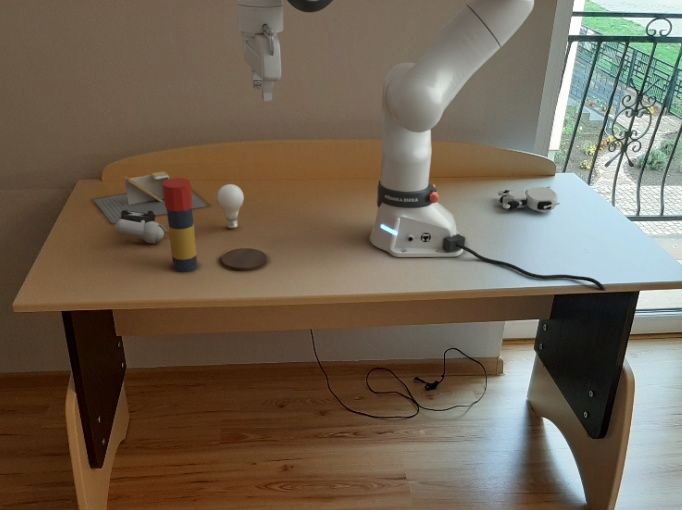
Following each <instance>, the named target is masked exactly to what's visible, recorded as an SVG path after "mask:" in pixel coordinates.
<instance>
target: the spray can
mask: <svg viewBox="0 0 682 510" xmlns="http://www.w3.org/2000/svg"><path fill="white" fill-rule="evenodd" d="M166 216H167V227H168V231H169V233H168V234H169V235H168V237H169V244H170V252H171V253H170V254H171V259H172V267H173V268H172V269H173V270H174V271H176V272H179V273H189V272H192V271H195V270H196V269H197V268H198V257H197V246H196V233H195V223H194V215H193V209H192V207H191V209H188V210H185V211H170V210H167V214H166Z"/></svg>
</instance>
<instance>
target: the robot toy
mask: <svg viewBox="0 0 682 510" xmlns="http://www.w3.org/2000/svg"><path fill="white" fill-rule="evenodd" d="M497 195H498V196H500V197H499V202H500V203H501V204H502V208H504V209H506V210H517V209H522V208H524V207H525V206H527V207H528V209H531V210H533V211H537V212H539V213H546V212H548V211H552V210H555V208H556V207H557V206H559V205H560V204H561V202H558V201H559V200H558V199H559V196H558V194H557V193H556V192H555V191H554V190H553V189H552V186H550V185H549V186H536V187H535V186H534V187H533V186H532V187H529V188H527V189H526V190H525V191H523V190H509V189H504V191H503V190H499V191H498V192H497Z"/></svg>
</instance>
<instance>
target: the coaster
mask: <svg viewBox="0 0 682 510" xmlns="http://www.w3.org/2000/svg"><path fill="white" fill-rule="evenodd" d="M267 262H268V258H267V254H266V253H265V252H264V251H262V250H260V249H256V248H250V247H243V248H242V247H240V248H235V249H230V250H228V251H226V252H225V253H224V254H222V256H221V263H222V265H223V267H224V268H227V269H228V270H232V271H237V272H250V271H254V270H257V269H260V268H262V267H264V266H265V265H266V264H267Z"/></svg>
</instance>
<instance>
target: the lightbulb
mask: <svg viewBox="0 0 682 510" xmlns="http://www.w3.org/2000/svg"><path fill="white" fill-rule="evenodd" d="M216 201H217V204H218V206H219V207H220V208H221V209H222V211H223V213H224V216H225V219H226V227H227V228H228V229H231V230H233V229H236V228H237V227H238V226H239V225H238V224H239V223H238V217H239V212H240V209H241V208H242V206H243V204H244V201H245V195H244V192H243V190H242V189H241V188H240V187H239V186H238V185H236V184H233V183H227V184H224V185H222V186H221V187H220V188H219V189H218V191H217V195H216Z"/></svg>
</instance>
